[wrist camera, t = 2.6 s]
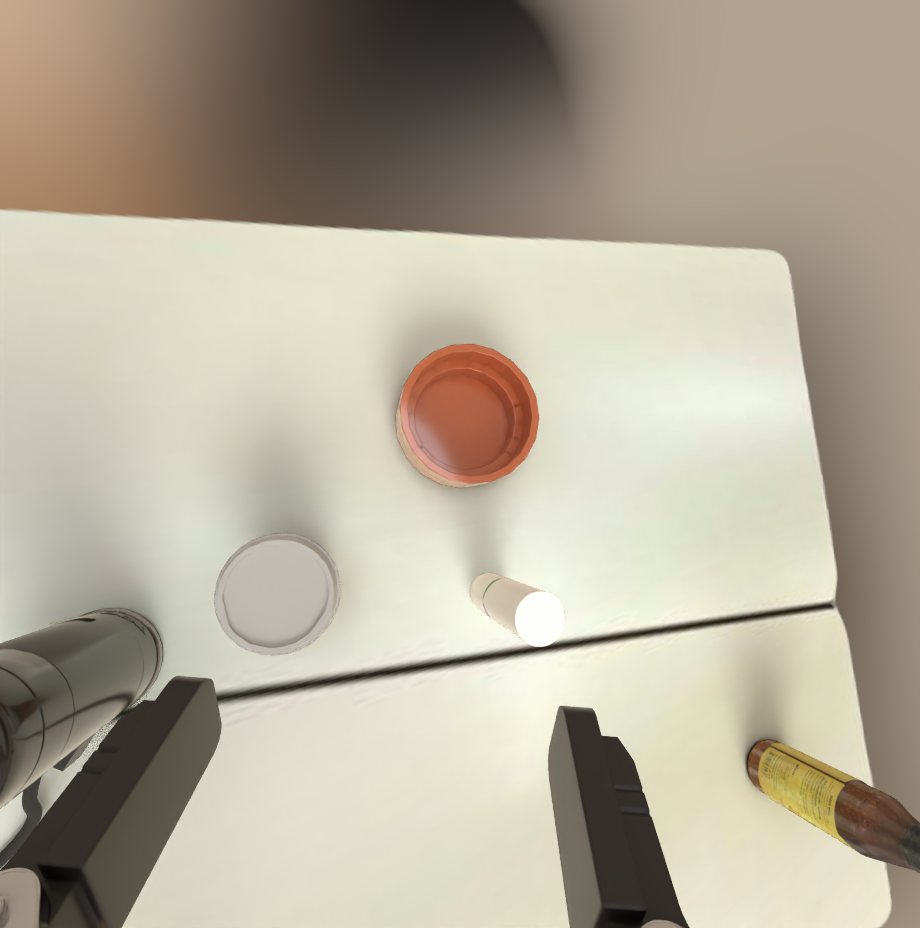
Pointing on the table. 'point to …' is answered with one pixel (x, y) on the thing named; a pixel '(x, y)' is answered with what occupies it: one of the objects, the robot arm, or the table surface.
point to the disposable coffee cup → (277, 594)
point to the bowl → (466, 416)
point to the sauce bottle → (837, 804)
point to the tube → (519, 608)
